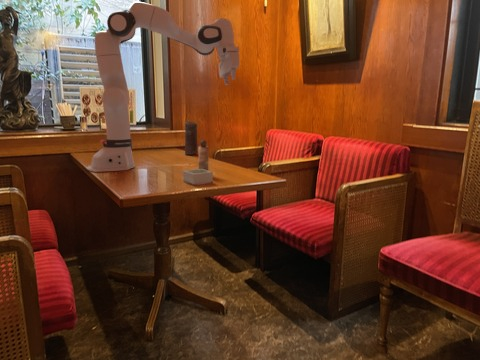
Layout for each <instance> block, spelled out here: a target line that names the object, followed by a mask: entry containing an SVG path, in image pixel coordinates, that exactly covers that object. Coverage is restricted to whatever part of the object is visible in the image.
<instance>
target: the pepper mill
mask: <svg viewBox="0 0 480 360" xmlns="http://www.w3.org/2000/svg"><path fill="white" fill-rule="evenodd" d="M198 169H204V170H208V171H209V146H207V141H206V140H205V139H203V140H201V141H200V146H198Z"/></svg>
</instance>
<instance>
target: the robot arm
mask: <svg viewBox="0 0 480 360" xmlns="http://www.w3.org/2000/svg"><path fill="white" fill-rule="evenodd" d="M106 23H107V24H106V25H107V29H106V30H101V31H99V32H97V33H96V34H95V36H94V49H95V57H96V61H97V62H96V63H97V69H98V73H99V76H100V80H101V83H102V86H103V89H104V91H103V92H102V96H101V99H102V107H103V113H104V119H105V129H106V139H101V140H100V141H99V144H101V145H102V148H101V149H99V150H98V151H97V152H96V153H95V154H93V155H92V158H91V164H89V165H88V166H87V167H86V169H87V171H89V172H94V173H99V172H114V171H128V170H130V169H133V168H136V165H135V160H134V156H133V152H132V149H133V141H132V138H131V121H130V116H129V108H128V107H129V104H130V101H131V100H130V99H131V98H130V93H129V88H128V84H127V79H126V75H125V72H124V71H125V70H124V65H123V59H122V53H121V47H120V46H121V44H123V43H125V42H128V41H130V40H131V39H133V38H134V37H135V35H136V29H138V28H139V29H141V28H142V29H146V30H147V31H151V32H154V33H157V34H160V35H162V36H165V37H167V38H170V39H171V40H174V41H175V42H178V43H181V44H182V45H185V46H188V47H189V48H192V49H193V50H194V51H195V52H197V53H198V54H200V55H202V56H209V55H211V54H212V53H213V52H214V51H215V48H216V50H217V57H218V59H219V60H220V62H218V74H219V78H220V79H223V81H224V86H228V85H230V80H229V76H230V78H231V80H236V79H237V78H236V77H237V76H236V73H237V68H239V66H240V53H239V52H240V47H239V46H236V44H235V33H234V28H233V24H232V23H231V21H230V20H228V19H227V18H224V17H223V18H221V17H220V18H217V19H216V20H214V21H213V22H211V23H210V24H206V25H202V26H201V27H199V29H198V31H197V32H196V33H197V34H195V33H194V32H190V31H188V30H185V29H184V28H182V27H180V26H179V25H178V24H177V22H175V20H174V18H173V16H172V14H171V13H170V12H169V11H168V10H166V9H164V8H162V7H159V6H158V5H154V4H150V3H147V2H142V1H134V2H132V3H131V4H130V6H129V9H122V10H118V11H113V12H112V13H110V15H108V17H107V22H106Z"/></svg>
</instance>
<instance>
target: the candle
mask: <svg viewBox="0 0 480 360" xmlns="http://www.w3.org/2000/svg"><path fill="white" fill-rule="evenodd" d="M184 130H185V131H184V135H185V136H184V138H185V139H184V154H185V155H186V156H187V155H189V156H190V155H192V156H194V155H196V154H198V123H197V122H194V121H185V123H184Z"/></svg>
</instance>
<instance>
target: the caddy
mask: <svg viewBox="0 0 480 360" xmlns="http://www.w3.org/2000/svg"><path fill="white" fill-rule="evenodd" d="M213 175H214V174H213V171H210V170H209V169H208V170H204V169H199V168H195V169H187V170H182V182H184V183H187V184H189V185H191V186H197V185H198V186H199V185H207V184H213V181H214V179H213Z"/></svg>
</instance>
